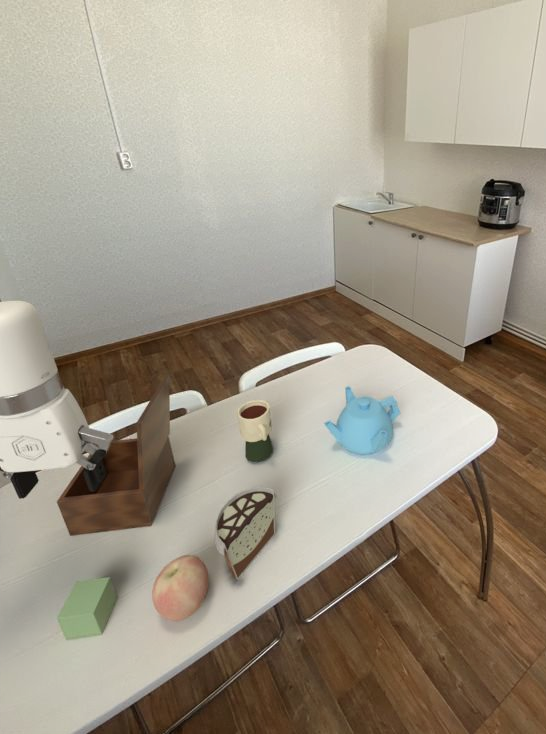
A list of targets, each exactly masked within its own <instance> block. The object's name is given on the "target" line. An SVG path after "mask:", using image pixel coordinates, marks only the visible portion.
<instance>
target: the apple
mask: <svg viewBox="0 0 546 734" xmlns="http://www.w3.org/2000/svg"><path fill="white" fill-rule="evenodd" d="M209 582H210V576H209V570H208V568H207V566H206V563H205V562H204V561H203V560H202V559H201V558H200V557H199V556H197V555H194V554H185V555H181V556H179V557H176V558H175V559H173V560H171V561H170V562H169V563H167V565H165V566H164V567H163V569H162V570H161V571H160V572H159V573H158V575H157V577H156V578H155V580H154V583H153V586H152V591H151V598H152V600H151V601H152V604H153V607H154V609H155V610H156V612H157V613H158V614H159V615H160V617H162V618H163V619H165V620H167V621H171V622H180V621H184V620H186V619H188V618H189V617H191V616H192V615H194V613H195V612H196V611H197V610H199V608H200V607H201V606H202V604H203V602H204V600H205V598H206V595H207V593H208V588H209Z"/></svg>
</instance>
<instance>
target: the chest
mask: <svg viewBox="0 0 546 734" xmlns="http://www.w3.org/2000/svg"><path fill="white" fill-rule="evenodd" d="M95 446H97V447H99V446H98V445H97V444H95ZM86 457H87V458H89V459H90V458H91V457H92V455H91V454H89V453H88V456H86ZM102 462H103V465H104V468H105V471H106V476H105V478H104V479H103V481H102V482H101V483H100V485H99V486H98V488H97V489H96V491H90V490H89V488H88V485H87V482H86V480H85V477H84V474H83V472H84V470H85V468H84V467H83V466H81V465H80V467H79V469H78V470H77V472H76V473H75V475H74V476H73V478H72V479H71V480H70V482H69V483H68V485H67V486H66V487H65V489H64V490H63V492H62V493H61V495H60V496H59V498H58V499H57V500H56V504H57V507H58V509H59V512H60V514H61V516H62V519H63V522H64V524H65V527H66V529H67V531H68V534H69V536H70V537H73V536H81V535H89V534H97V533H98V534H99V533H104V532H105V533H106V532H113V531H120V530H129V529H130V530H131V529H136V528H137V529H139V528H144V527H146V528H147V527H152V526H153V523H154V521H155V518H156V515H157V512H158V510H159V508H160V505H161V504H162V501H163V497H164V495H165V493H166V491H167V488H168V486H169V484H170V481H171V478H172V476H173V473H174V472H175V469H176V461H175V456H174V452H173V448H172V444H171V439H170V435H169V436H168V439H167V441H166V443H165V445H164V447H163V449H162V451H161V453H160V456H159V458H158V460H157V462H156V464H155V466H154V468H153V470H152V472H151V475H150V477H149V479H148V481H147V483H146V485H145V487H144V489H143V490H139V471H138V446H137V437H136V438H127V439H117V440H115V439H114V440H113V441H112V443H111V446H110V449H109V450H108V452H107V453H106V455H105V456H104V458H103V459H102Z"/></svg>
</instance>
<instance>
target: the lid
mask: <svg viewBox="0 0 546 734" xmlns="http://www.w3.org/2000/svg"><path fill="white" fill-rule="evenodd" d="M170 375H171V374H168V373H166V374H165V375H164V377H163V378H162V380H161V382H160V383H159V385H158V387H157V388H156V390H155V392H154V393H153V395H152V396H151V398H150V400H149V401H148V403H147V405H146V406H145V408H144V410H143V412H142V413H141V415H140V416H139V418H138V419H137V421H136V438H137V446H138V471H139V490H143V489H144V487H145V485H146V483H147V481H148V479H149V477H150V475H151V472H152V470H153V468H154V466H155V464H156V462H157V460H158V458H159V456H160V453H161V451H162V449H163V447H164V445H165V443H166V441H167V439H168V436H169V437H170V434H171V411H170V410H171V409H170V408H171V401H170V400H171V399H170V398H171V395H170V389H171V386H170V384H171V383H170V382H171V380H170Z"/></svg>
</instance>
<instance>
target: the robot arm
mask: <svg viewBox="0 0 546 734" xmlns="http://www.w3.org/2000/svg"><path fill="white" fill-rule="evenodd" d="M112 441H114V435H113V433H108V432H105V431H101V430H98V429H94V428H90V426H89V424H88V421H87V419H86V416H85V414H84V412H83V410H82V408H81V407H80V405H79V403H78V401H77V400H76V397H75V396H74V395H73V393H72V392H71V391H70V389H69V388H65V387H64V384H63V381H62V378H61V375H60V372H59V369H58V367H57V364H56V361H55V358H54V355H53V352H52V349H51V347H50V343H49V341H48V338H47V334H46V332H45V330H44V326H43V323H42V320H41V317H40V315H39V312H38V310H37V308H36V307H35V306H34V305H33V304H32V303H30V302H28V301H26V300H25V301H24V300H5V301H0V472H1V474H2V476H3V478H6V479H9V480H10V482H11V484H12V486H13V488H14V491H15V493H16V495H17V497H18V499H20V500H21V499H22V500H23V499H25V498H26V497H27V496H28V495H29V494H30V493H31V492H32V490H33V489H34V488H35V487H36V486H37V484H39V481H40V480H39V477H38V475H37V473H36V471H47V470H55V469H56V470H57V469H64V468H65V469H66V468H69V467H72V466H75V464H78V465H79V466H80V467H81V466H83V467H84V468H85V470H84V472H83V474H84V477H85V480H86V482H87V485H88V488H89V490H90V491H96V489H97V488H98V486H99V485H100V483H101V482H102V481H103V479H104V478H105V476H106V471H105V468H104V465H103V462H102V459H103V458H104V456H105V455H106V453H107V452H108V450H109V449H110V446H111V443H112ZM96 444H97V445H98V446H99V447H97V446H96ZM85 452H86V453H87V454H88V455H89V454H91V455H92V457H91V458H90V459H89V458H87V457H88V456H86V455H84V453H85Z"/></svg>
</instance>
